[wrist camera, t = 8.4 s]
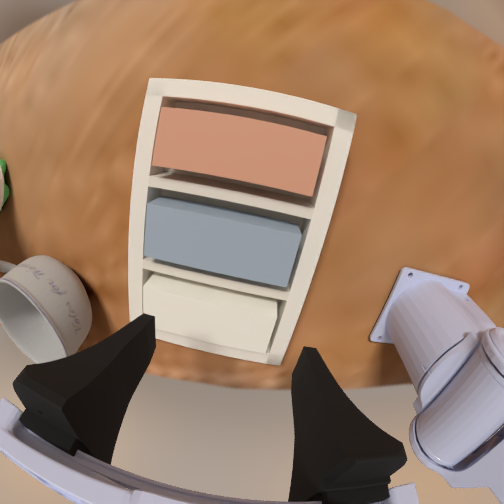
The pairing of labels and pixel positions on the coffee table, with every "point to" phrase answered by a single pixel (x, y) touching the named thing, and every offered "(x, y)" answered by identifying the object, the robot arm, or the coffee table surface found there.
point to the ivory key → (210, 312)
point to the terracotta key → (239, 149)
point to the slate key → (221, 240)
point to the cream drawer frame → (237, 198)
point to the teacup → (44, 308)
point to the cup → (3, 184)
